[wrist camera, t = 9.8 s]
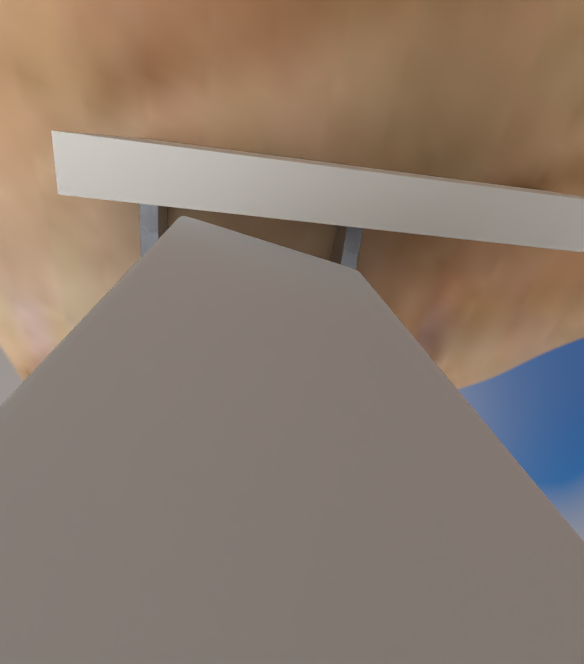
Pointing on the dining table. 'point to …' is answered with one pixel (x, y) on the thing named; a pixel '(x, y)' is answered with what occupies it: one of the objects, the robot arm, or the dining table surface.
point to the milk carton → (267, 483)
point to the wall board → (312, 191)
